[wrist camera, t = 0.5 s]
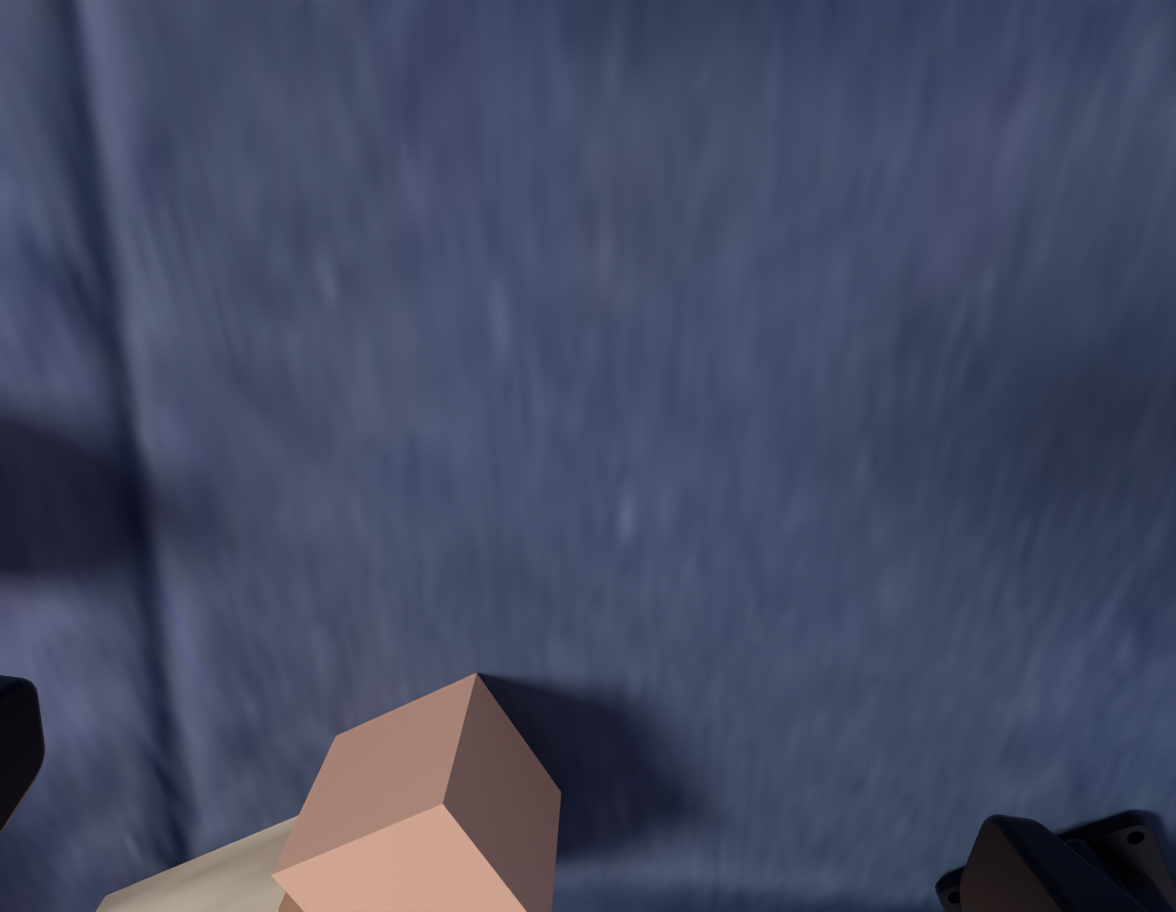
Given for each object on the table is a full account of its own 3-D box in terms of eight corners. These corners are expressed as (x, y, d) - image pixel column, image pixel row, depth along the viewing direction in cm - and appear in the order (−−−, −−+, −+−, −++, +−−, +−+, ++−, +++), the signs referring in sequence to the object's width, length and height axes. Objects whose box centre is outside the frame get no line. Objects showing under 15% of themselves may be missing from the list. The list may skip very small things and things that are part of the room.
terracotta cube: (561, 790, 25) (549, 940, 20) (426, 844, 26) (385, 1000, 21) (476, 670, 23) (442, 803, 19) (336, 733, 24) (271, 875, 20)
